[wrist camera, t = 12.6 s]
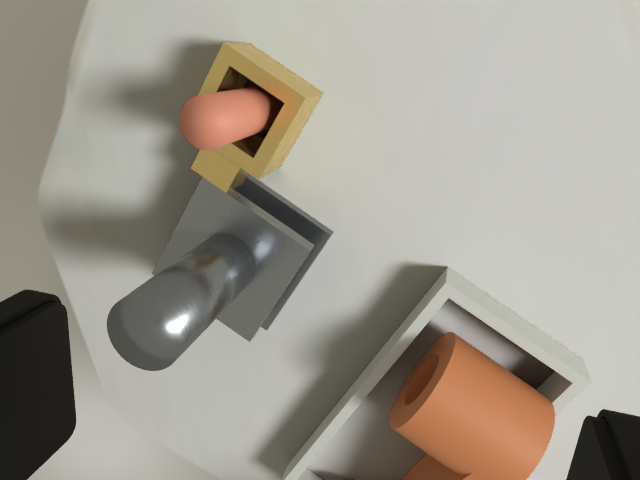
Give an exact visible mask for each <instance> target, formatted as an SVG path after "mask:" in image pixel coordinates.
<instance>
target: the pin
mask: <svg viewBox="0 0 640 480" xmlns="http://www.w3.org/2000/svg"><path fill="white" fill-rule="evenodd" d="M283 105H284V102H282V101H281V100H279V99H278V98H276V97H275V96H273V95H272V94H271V93H269V92H268V91H266V90H265V89H263V88H262V87H260V86H254V87H248V88H241V89H235V90H228V91H222V92H216V93H209V94H203V95H197V96H194V97H192V98H190V99H189V100H188V101H187V102H186V103H185V104H184V105H183V107H182V109H181V112H180V127H181V131H182V133H183V135H184V137H185V138H186V140H187V141H188V142H189V143H190V144H191V145H193V146H194V147H196V148H198V149H201V150H214V149H216V148H219V147H222V146H224V145H227V144H230V143H232V142H235V141H238V140H240V139H243V138H246V137H248V136H251V135H254V134H256V133H259V132H262V131H264V130H267V129H270V128H271V126H272V125H273V123H274V121H275V119H276V118H277V116H278V114H279V112H280V110H281V109H282V107H283Z"/></svg>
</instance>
